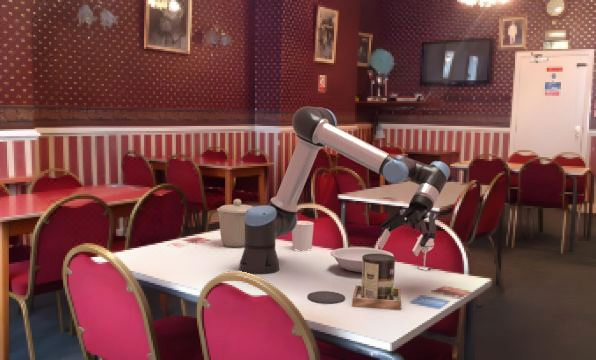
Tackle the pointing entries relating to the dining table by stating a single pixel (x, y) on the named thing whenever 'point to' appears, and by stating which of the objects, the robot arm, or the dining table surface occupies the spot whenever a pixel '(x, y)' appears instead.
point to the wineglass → (427, 248)
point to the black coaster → (326, 297)
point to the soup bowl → (354, 257)
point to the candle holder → (302, 235)
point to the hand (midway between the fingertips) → (396, 250)
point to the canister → (233, 223)
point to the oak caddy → (376, 300)
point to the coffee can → (378, 276)
